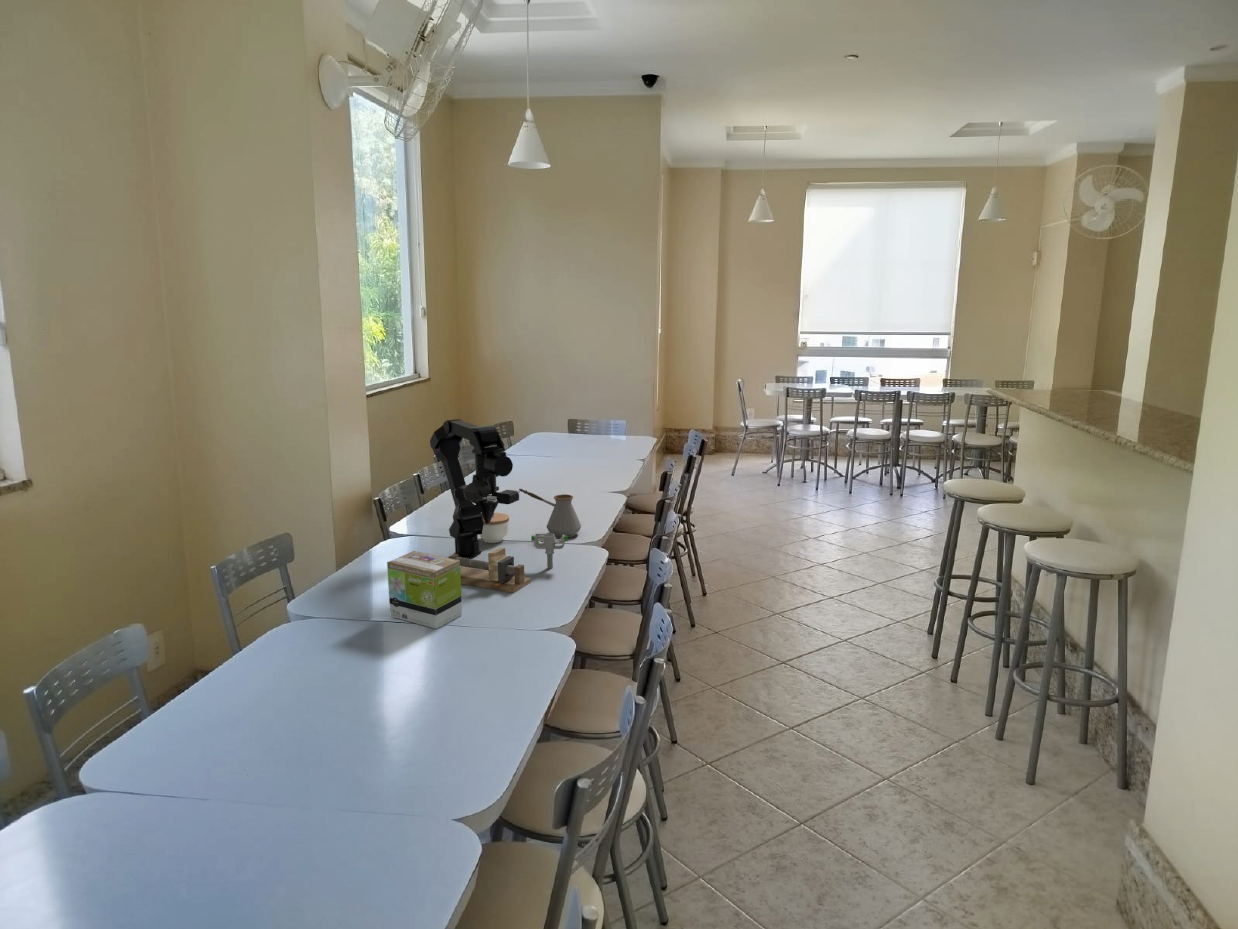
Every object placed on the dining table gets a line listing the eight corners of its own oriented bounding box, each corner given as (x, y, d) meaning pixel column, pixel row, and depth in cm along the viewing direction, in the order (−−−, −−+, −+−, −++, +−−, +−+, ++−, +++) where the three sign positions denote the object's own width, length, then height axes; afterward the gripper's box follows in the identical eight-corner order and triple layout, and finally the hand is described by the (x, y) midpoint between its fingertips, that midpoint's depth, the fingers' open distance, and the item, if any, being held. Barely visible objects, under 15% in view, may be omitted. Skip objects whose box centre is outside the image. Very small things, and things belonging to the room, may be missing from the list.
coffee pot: (584, 530, 267) (584, 487, 264) (576, 540, 256) (576, 495, 253) (523, 527, 271) (522, 484, 268) (513, 536, 260) (512, 492, 257)
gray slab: (498, 581, 214) (497, 562, 213) (509, 575, 219) (508, 556, 218) (503, 582, 213) (502, 562, 212) (514, 576, 218) (513, 556, 217)
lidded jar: (470, 543, 253) (469, 515, 251) (485, 534, 263) (484, 506, 261) (501, 546, 250) (500, 517, 248) (515, 536, 260) (514, 509, 258)
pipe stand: (442, 580, 220) (441, 559, 219) (461, 570, 228) (460, 550, 227) (513, 593, 210) (512, 571, 209) (530, 582, 218) (530, 561, 217)
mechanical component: (567, 569, 228) (566, 536, 226) (531, 569, 229) (530, 536, 227) (568, 566, 231) (567, 533, 229) (533, 566, 232) (532, 533, 229)
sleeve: (489, 579, 215) (488, 552, 214) (499, 573, 220) (499, 547, 218) (498, 581, 214) (497, 554, 212) (509, 575, 219) (508, 548, 217)
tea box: (388, 618, 194) (385, 560, 191) (416, 604, 203) (413, 549, 200) (436, 630, 187) (433, 570, 184) (463, 615, 196) (461, 558, 193)
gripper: (441, 473, 222) (444, 526, 225) (497, 479, 215) (499, 534, 218) (464, 465, 232) (466, 517, 235) (519, 471, 225) (520, 524, 228)
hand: (487, 523), depth 229 cm, fingers closed
